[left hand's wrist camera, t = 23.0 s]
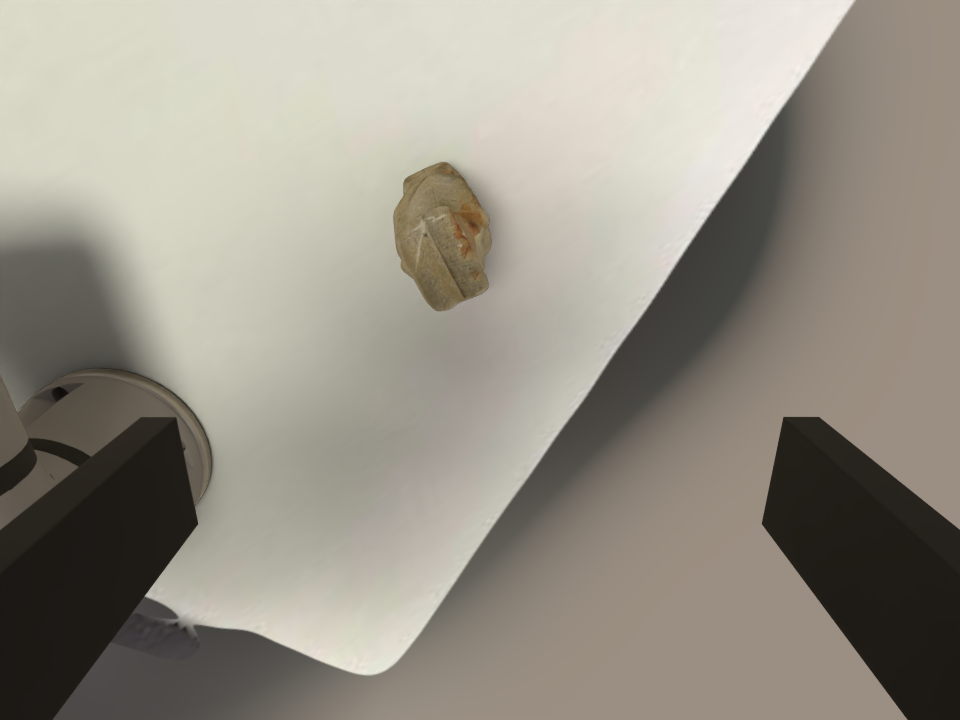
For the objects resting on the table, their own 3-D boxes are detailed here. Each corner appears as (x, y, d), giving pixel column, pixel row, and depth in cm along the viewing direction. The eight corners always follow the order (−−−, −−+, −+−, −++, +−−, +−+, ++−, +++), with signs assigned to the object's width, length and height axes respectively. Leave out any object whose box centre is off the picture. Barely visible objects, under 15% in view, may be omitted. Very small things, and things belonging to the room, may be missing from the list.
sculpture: (431, 273, 44) (408, 333, 30) (392, 181, 42) (348, 199, 28) (503, 245, 43) (514, 294, 29) (467, 150, 41) (461, 153, 27)
